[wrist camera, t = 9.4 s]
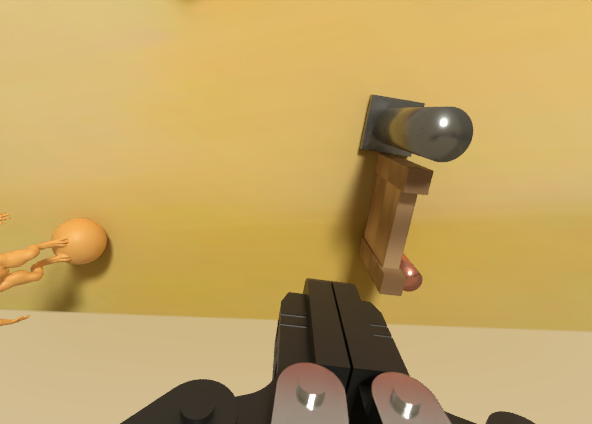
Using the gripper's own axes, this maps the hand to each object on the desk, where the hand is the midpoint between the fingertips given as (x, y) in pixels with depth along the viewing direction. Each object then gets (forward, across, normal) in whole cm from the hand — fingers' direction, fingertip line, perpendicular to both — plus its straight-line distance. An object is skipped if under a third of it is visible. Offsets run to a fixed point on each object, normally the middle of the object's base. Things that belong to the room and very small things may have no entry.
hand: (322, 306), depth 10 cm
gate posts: (+19, -8, -1) cm, 21 cm away
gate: (+18, -7, +1) cm, 20 cm away
